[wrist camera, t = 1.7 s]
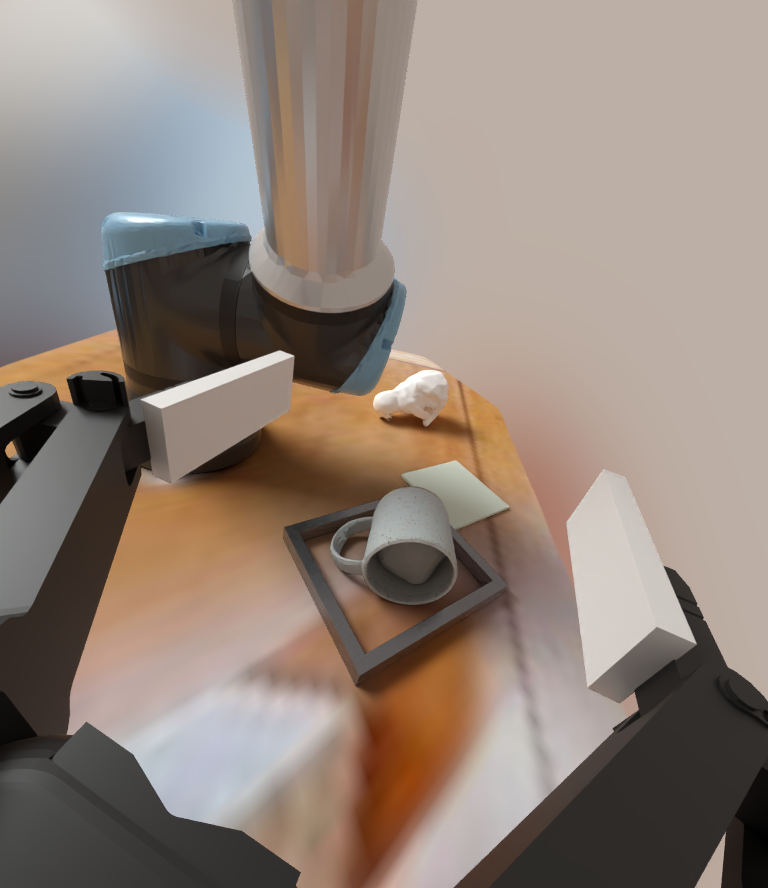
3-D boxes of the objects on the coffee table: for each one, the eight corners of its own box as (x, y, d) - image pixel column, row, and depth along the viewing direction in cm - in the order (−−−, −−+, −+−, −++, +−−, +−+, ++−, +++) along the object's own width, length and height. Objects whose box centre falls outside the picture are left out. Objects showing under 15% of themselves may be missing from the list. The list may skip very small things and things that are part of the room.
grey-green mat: (400, 476, 45) (401, 473, 45) (455, 462, 51) (456, 460, 50) (452, 531, 39) (453, 529, 38) (508, 508, 44) (509, 506, 44)
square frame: (283, 538, 33) (284, 527, 32) (413, 498, 42) (416, 488, 41) (355, 685, 24) (359, 675, 23) (501, 594, 33) (508, 585, 32)
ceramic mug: (436, 540, 37) (458, 485, 33) (441, 613, 30) (471, 554, 26) (337, 521, 36) (348, 462, 32) (319, 590, 29) (330, 526, 25)
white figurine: (457, 380, 54) (384, 382, 50) (445, 426, 59) (377, 432, 55) (439, 364, 59) (371, 364, 55) (429, 408, 64) (366, 411, 60)
